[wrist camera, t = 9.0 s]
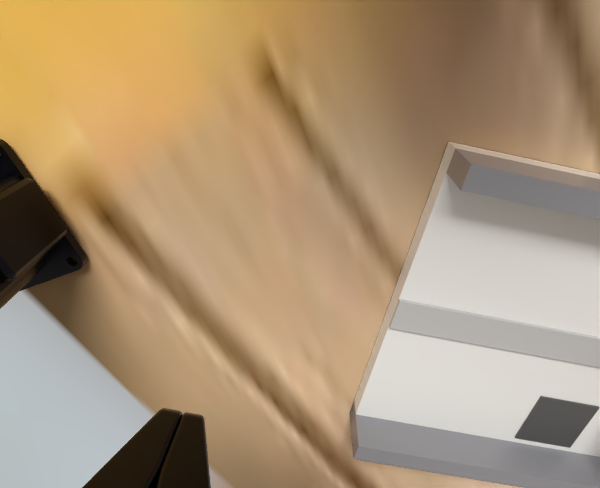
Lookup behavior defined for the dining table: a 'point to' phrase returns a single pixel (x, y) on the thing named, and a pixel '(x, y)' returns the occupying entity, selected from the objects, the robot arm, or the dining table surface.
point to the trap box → (493, 330)
